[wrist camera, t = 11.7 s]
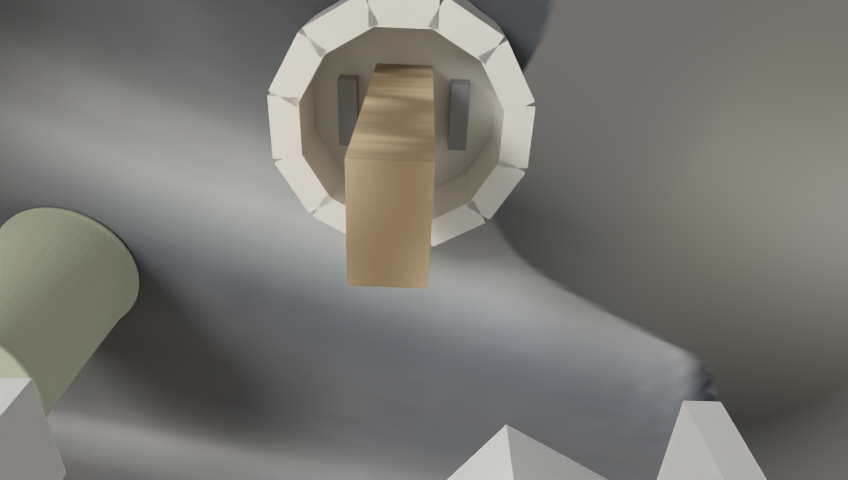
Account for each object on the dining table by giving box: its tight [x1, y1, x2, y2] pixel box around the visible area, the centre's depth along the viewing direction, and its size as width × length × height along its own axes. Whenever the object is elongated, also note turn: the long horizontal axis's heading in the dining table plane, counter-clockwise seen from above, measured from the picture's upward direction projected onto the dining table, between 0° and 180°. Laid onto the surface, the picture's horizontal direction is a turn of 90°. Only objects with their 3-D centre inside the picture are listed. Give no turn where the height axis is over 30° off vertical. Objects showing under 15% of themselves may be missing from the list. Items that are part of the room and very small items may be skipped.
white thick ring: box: [267, 0, 535, 247], centre depth 32 cm, size 13×13×5 cm
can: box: [0, 207, 139, 417], centre depth 34 cm, size 9×9×12 cm
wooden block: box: [344, 63, 435, 288], centre depth 27 cm, size 3×5×14 cm, turn 177°
